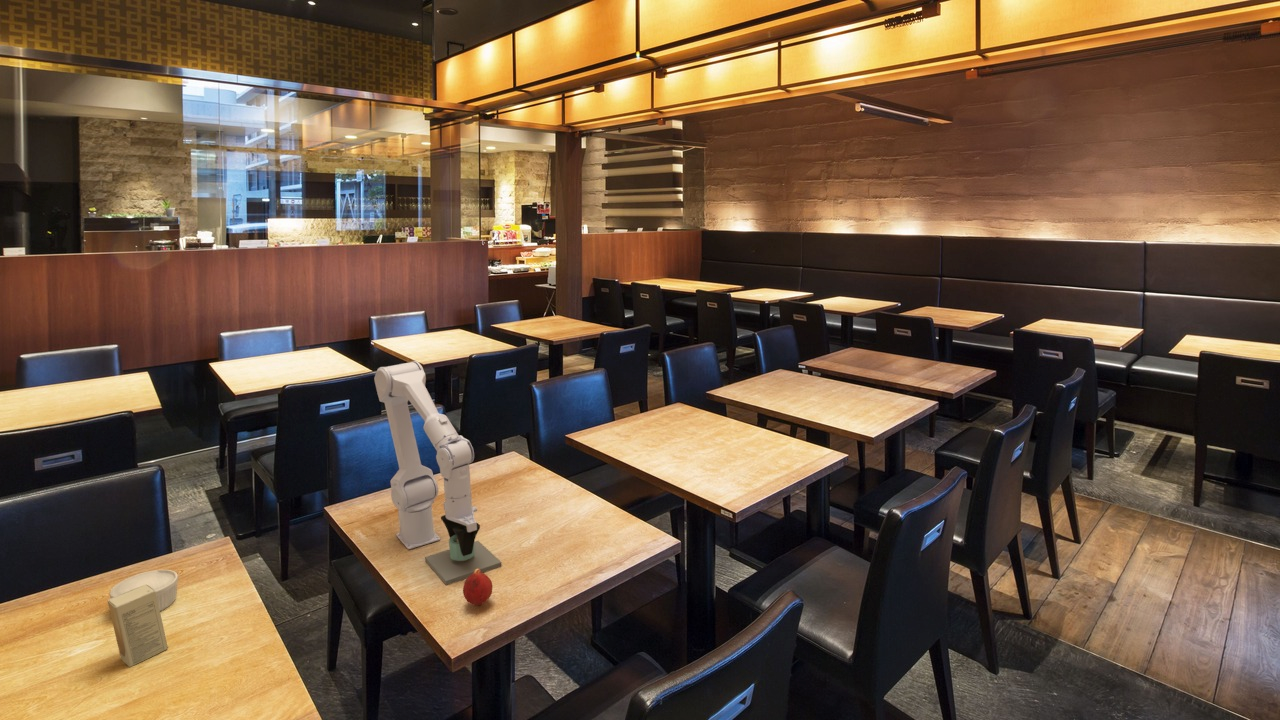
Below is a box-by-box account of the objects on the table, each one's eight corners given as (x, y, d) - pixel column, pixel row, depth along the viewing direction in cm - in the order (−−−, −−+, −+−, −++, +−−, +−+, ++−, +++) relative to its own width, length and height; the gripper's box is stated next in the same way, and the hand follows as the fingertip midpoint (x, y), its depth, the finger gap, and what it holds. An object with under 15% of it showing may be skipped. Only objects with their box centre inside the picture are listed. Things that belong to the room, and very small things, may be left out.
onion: (486, 615, 131) (483, 578, 130) (459, 612, 132) (456, 575, 131) (497, 598, 137) (495, 563, 135) (472, 596, 138) (469, 561, 136)
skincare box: (159, 641, 124) (148, 582, 122) (169, 649, 122) (158, 589, 119) (118, 659, 119) (105, 598, 117) (127, 668, 117) (115, 606, 114)
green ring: (446, 553, 151) (445, 537, 150) (469, 546, 154) (468, 530, 154) (455, 563, 147) (454, 546, 146) (478, 555, 150) (477, 539, 149)
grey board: (425, 561, 152) (424, 557, 152) (478, 544, 160) (478, 540, 160) (446, 585, 142) (445, 581, 142) (501, 566, 150) (501, 562, 150)
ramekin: (194, 596, 139) (190, 573, 138) (140, 626, 129) (135, 602, 128) (156, 587, 143) (152, 565, 142) (101, 616, 133) (96, 592, 131)
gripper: (488, 499, 144) (491, 556, 147) (462, 479, 156) (466, 532, 158) (457, 508, 140) (461, 566, 143) (433, 486, 151) (437, 541, 154)
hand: (462, 549), depth 150 cm, fingers closed on green ring, 5 cm apart
